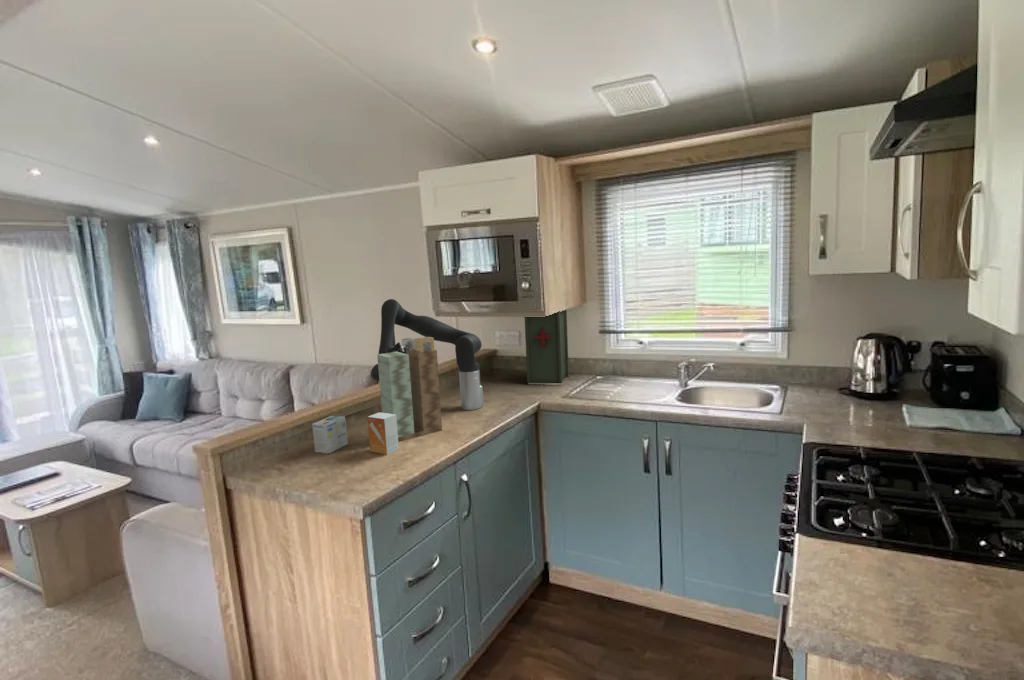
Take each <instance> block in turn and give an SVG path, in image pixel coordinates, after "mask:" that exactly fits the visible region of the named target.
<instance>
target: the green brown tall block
mask: <svg viewBox="0 0 1024 680" xmlns="http://www.w3.org/2000/svg"><path fill="white" fill-rule="evenodd" d="M376 357H377V364H378V369H379V381H378V382H379V390H380V391H379V392H380V403H381V404H380V405H381V413H389V414H396V420H397V433H398V442H403V441H405V440H409V439H413V438H417V437H421V436H425V435H428V434H432V433H433V434H434V433H437V432H440V431H443V423H442V422H443V421H442V410H441V409H442V408H441V406H442V405H441V394H440V379H439V378H440V376H439V364H438V363H439V362H438V350H437V349H434V351H427V352H421V353H420V352H416V350H406V354H405V353H400V352H391V353H384V354H377V356H376Z"/></svg>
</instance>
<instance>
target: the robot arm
mask: <svg viewBox="0 0 1024 680" xmlns="http://www.w3.org/2000/svg"><path fill="white" fill-rule="evenodd" d="M380 313H381V314H380V315H381V317H380V319H381V320H380V321H381V323H380V324H381V325H380V326H381V327H380V330H381V331H380V341H379V346H378V352H377V353H378V354H384V353H391V352H400V353H405V354H406V350H411V349H406V348H402V344H401V343H400V342H396V334H395V325H397V326H399V327H403V328H406V329H408V330H411V331H412V332H414V333H417V334H419V335H420V336H423V337H433V338H434V341H437V342H441V343H447V344H452V345H454V346H455V348H454V349H455V350H454V351H455V359H456V365H457V367H458V374H459V375H458V376H459V377H458V378H459V391H460V393H459V394H460V406H461V407H460V408H461V409H462V410H464V411H473V410H478V409H481V408H483V407H484V393H483V385H481V373H480V364H479V362H477V361H476V358H475V354H477V353H478V352H479V351H480V350H481V349H482V341H481V338H479V336H477V335H476V334H474V333H470V332H467V331H463V330H460V329H457V328H455V327H453V326H451V325H449V324H447V323H444V322H442V321H439V320H437V319H436V318H433V317H430V316H427V315H417V314H414V313H411V312H410V311H408V310H406V309H404V308H403V307H402V305H401V304H400V303H399V302H398V301H397V300H396V299H393V298H390V299H387V300H385V301H384V302H383V303H382V305H381V311H380ZM378 354H377V355H378ZM370 377H371V379H373V380H374V381H377V382H379V369H378V363H376V364H375V365H374V366H373V367H372V368H371V371H370Z"/></svg>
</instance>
